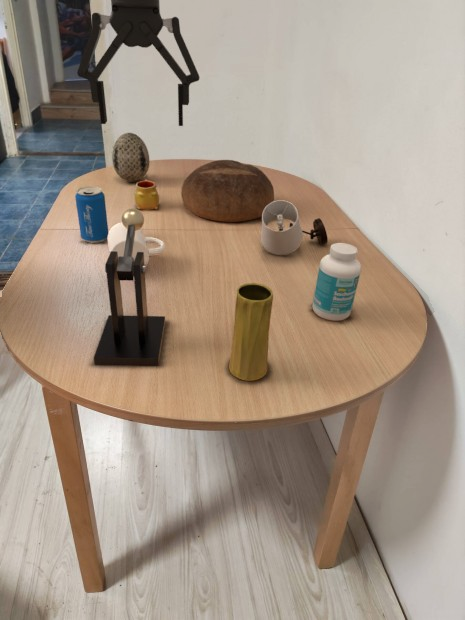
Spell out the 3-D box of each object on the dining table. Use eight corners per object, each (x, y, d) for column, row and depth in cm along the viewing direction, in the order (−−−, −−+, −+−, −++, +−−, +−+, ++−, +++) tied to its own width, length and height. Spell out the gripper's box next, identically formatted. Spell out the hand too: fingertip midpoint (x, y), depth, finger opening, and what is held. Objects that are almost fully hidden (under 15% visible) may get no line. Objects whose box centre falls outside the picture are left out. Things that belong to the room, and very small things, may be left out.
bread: (183, 191, 143) (183, 148, 136) (267, 194, 144) (271, 152, 137) (178, 222, 121) (177, 173, 114) (277, 226, 123) (283, 177, 115)
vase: (256, 386, 69) (265, 307, 61) (221, 372, 71) (225, 294, 63) (273, 364, 73) (283, 288, 66) (240, 352, 76) (245, 277, 68)
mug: (111, 276, 95) (108, 241, 91) (109, 255, 103) (105, 222, 99) (168, 271, 98) (167, 237, 94) (161, 251, 106) (160, 219, 102)
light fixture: (258, 240, 118) (251, 204, 102) (315, 220, 117) (317, 181, 101) (270, 273, 114) (265, 242, 98) (329, 253, 114) (334, 218, 98)
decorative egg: (106, 180, 148) (101, 132, 140) (134, 173, 156) (131, 127, 148) (129, 189, 142) (126, 139, 134) (157, 181, 150) (155, 134, 142)
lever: (124, 219, 77) (121, 203, 74) (146, 219, 77) (143, 204, 74) (114, 282, 70) (110, 268, 66) (138, 283, 70) (135, 269, 67)
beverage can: (77, 243, 107) (70, 194, 101) (86, 232, 113) (79, 185, 106) (104, 245, 107) (99, 195, 101) (112, 234, 113) (107, 186, 106)
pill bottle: (331, 327, 83) (345, 261, 76) (303, 308, 88) (314, 244, 81) (358, 315, 87) (374, 251, 80) (330, 297, 92) (342, 236, 85)
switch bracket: (109, 321, 81) (99, 240, 73) (165, 322, 82) (162, 242, 73) (94, 364, 71) (81, 276, 63) (158, 365, 72) (154, 278, 63)
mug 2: (158, 211, 128) (157, 187, 124) (133, 210, 127) (132, 187, 123) (160, 196, 138) (160, 174, 134) (137, 196, 137) (136, 174, 133)
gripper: (44, -30, 65) (66, 126, 77) (216, -20, 68) (213, 129, 80) (55, -26, 72) (75, 117, 83) (212, -17, 74) (210, 121, 86)
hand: (142, 123), depth 82 cm, fingers open, 13 cm apart
